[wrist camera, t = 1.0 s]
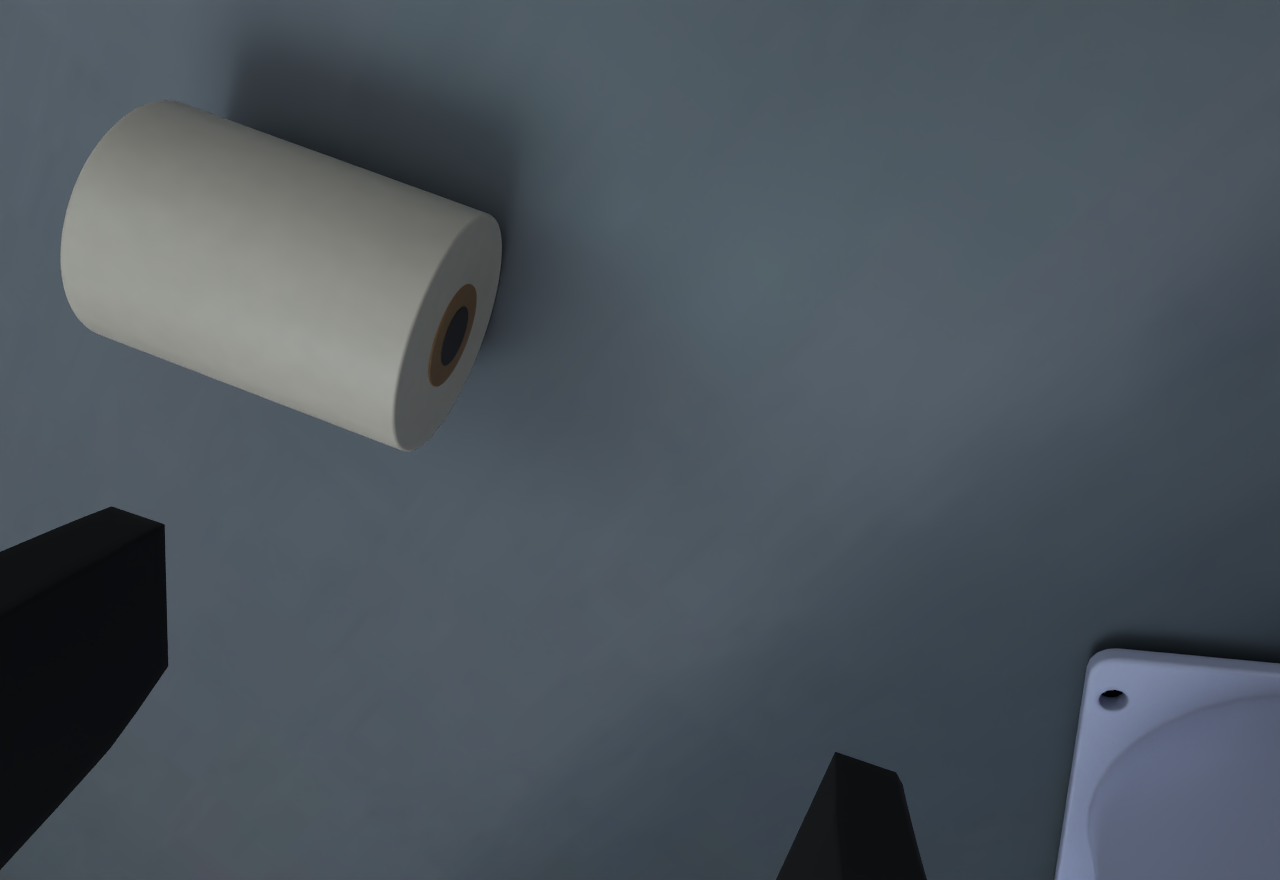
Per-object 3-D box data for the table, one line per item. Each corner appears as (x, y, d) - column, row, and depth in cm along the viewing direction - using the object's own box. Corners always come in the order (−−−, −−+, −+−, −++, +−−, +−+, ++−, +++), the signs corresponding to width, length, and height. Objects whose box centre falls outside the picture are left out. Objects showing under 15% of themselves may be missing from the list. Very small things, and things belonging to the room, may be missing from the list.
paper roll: (521, 179, 19) (414, 280, 16) (484, 376, 22) (385, 501, 18) (217, 71, 20) (47, 145, 16) (216, 276, 22) (70, 379, 19)
